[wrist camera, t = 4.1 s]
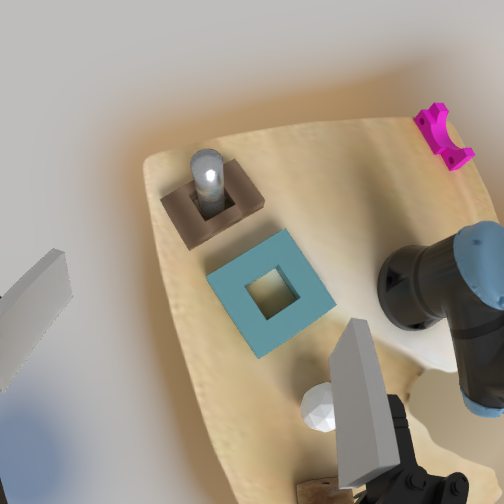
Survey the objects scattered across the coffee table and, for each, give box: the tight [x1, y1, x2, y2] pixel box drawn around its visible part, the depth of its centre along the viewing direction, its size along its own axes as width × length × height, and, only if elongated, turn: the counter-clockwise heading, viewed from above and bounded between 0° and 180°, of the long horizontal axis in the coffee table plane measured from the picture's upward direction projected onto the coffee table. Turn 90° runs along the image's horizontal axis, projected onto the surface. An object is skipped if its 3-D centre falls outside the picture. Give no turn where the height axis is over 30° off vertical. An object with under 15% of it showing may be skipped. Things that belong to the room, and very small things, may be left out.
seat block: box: [206, 229, 336, 359], centre depth 43 cm, size 14×14×3 cm
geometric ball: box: [300, 382, 335, 432], centre depth 37 cm, size 8×8×8 cm
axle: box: [190, 149, 225, 218], centre depth 41 cm, size 4×4×14 cm
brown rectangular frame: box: [160, 159, 265, 251], centre depth 46 cm, size 14×9×3 cm, turn 123°
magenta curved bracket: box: [414, 102, 475, 171], centre depth 53 cm, size 15×6×8 cm, turn 17°
